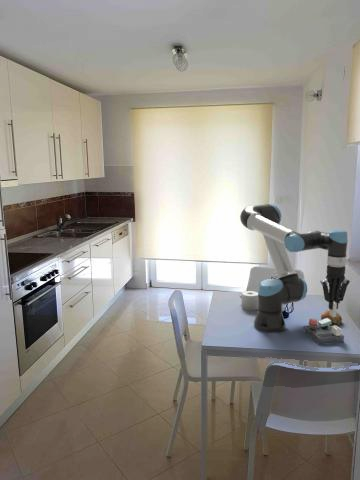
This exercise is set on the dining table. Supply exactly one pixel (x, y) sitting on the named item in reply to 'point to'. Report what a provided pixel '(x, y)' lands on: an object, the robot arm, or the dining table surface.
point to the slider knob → (336, 330)
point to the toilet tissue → (249, 300)
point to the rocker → (324, 322)
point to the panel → (323, 334)
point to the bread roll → (332, 318)
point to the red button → (312, 322)
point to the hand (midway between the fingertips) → (332, 315)
